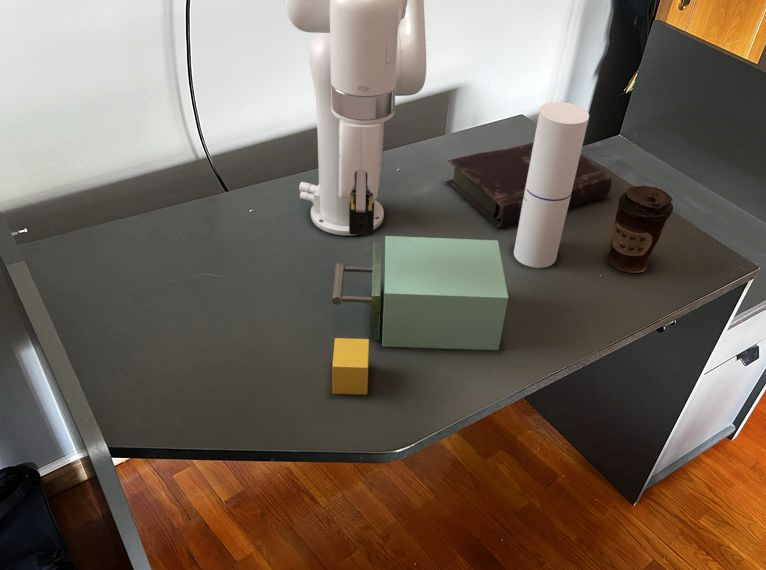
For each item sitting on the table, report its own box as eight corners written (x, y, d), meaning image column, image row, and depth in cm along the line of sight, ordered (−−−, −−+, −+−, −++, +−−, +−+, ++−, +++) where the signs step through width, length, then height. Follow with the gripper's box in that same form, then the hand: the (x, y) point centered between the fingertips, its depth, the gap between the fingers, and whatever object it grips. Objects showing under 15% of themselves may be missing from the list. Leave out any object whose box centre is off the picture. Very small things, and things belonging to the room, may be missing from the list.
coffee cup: (642, 285, 119) (665, 216, 110) (594, 267, 122) (613, 198, 113) (659, 260, 125) (682, 192, 116) (613, 243, 128) (632, 175, 119)
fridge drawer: (331, 337, 104) (330, 293, 98) (336, 283, 113) (335, 241, 108) (479, 342, 105) (486, 299, 100) (472, 288, 114) (478, 246, 109)
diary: (608, 200, 138) (615, 176, 135) (500, 231, 128) (504, 206, 125) (547, 156, 150) (552, 133, 146) (443, 181, 140) (445, 157, 136)
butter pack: (332, 394, 97) (332, 366, 93) (335, 365, 101) (334, 337, 98) (367, 395, 97) (367, 367, 94) (368, 366, 101) (369, 338, 98)
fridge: (382, 346, 104) (384, 293, 98) (383, 287, 114) (385, 235, 108) (498, 350, 105) (508, 297, 99) (489, 291, 115) (498, 240, 109)
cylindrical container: (529, 271, 120) (558, 127, 103) (505, 248, 124) (530, 106, 108) (564, 261, 123) (599, 119, 106) (540, 239, 127) (569, 99, 110)
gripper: (334, 72, 92) (336, 201, 104) (326, 125, 81) (329, 263, 93) (395, 75, 93) (389, 203, 105) (395, 129, 81) (389, 265, 94)
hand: (361, 231), depth 99 cm, fingers closed
